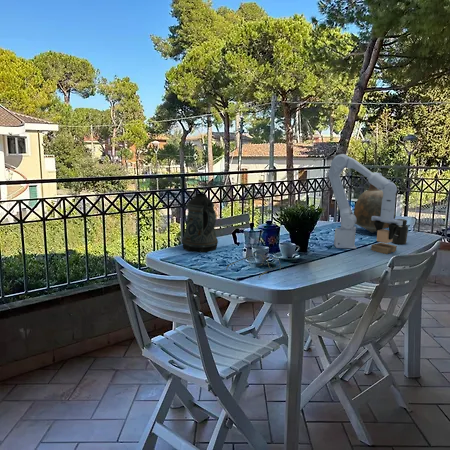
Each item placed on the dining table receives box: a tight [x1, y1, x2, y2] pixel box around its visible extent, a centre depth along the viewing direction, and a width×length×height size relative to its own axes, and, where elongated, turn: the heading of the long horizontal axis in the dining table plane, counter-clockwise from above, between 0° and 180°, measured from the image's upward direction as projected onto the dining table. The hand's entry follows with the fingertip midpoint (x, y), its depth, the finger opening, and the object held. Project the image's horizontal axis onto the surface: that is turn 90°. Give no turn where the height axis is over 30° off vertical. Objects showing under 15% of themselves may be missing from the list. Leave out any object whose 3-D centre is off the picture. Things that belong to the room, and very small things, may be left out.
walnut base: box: [370, 242, 397, 255], centre depth 198 cm, size 8×8×3 cm
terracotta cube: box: [376, 228, 393, 244], centre depth 197 cm, size 5×5×5 cm
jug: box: [353, 183, 397, 233], centre depth 233 cm, size 24×21×30 cm
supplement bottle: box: [392, 218, 409, 245], centre depth 213 cm, size 7×7×12 cm
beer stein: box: [181, 193, 219, 253], centre depth 193 cm, size 16×19×25 cm
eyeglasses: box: [226, 252, 282, 279], centre depth 165 cm, size 16×15×5 cm
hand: (384, 238), depth 197 cm, fingers closed on terracotta cube, 5 cm apart
